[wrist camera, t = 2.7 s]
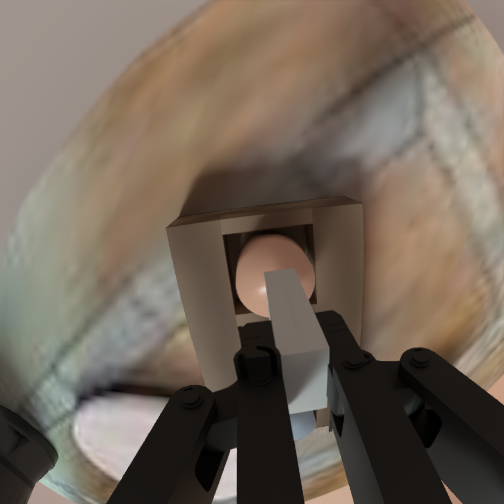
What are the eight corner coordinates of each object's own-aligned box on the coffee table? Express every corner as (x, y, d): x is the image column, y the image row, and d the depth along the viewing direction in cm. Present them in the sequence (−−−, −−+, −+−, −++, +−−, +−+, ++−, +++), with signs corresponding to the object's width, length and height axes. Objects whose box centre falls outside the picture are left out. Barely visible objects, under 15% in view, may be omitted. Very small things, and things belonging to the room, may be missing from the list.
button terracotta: (241, 299, 19) (241, 322, 17) (232, 236, 18) (230, 250, 15) (306, 290, 19) (316, 311, 16) (302, 227, 18) (312, 239, 15)
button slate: (262, 420, 23) (264, 444, 20) (256, 389, 22) (258, 415, 19) (309, 413, 23) (315, 437, 20) (309, 381, 22) (316, 406, 19)
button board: (225, 413, 26) (223, 438, 23) (178, 217, 20) (165, 227, 17) (341, 396, 26) (350, 420, 23) (344, 196, 20) (362, 203, 17)
